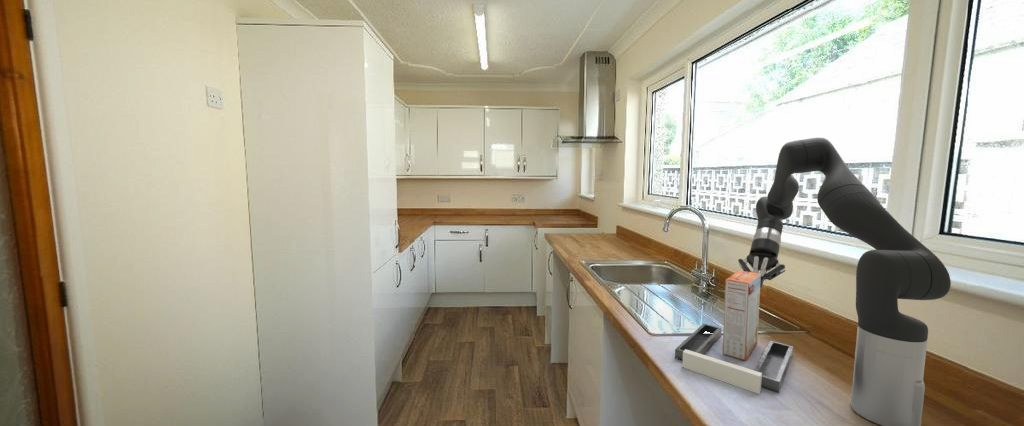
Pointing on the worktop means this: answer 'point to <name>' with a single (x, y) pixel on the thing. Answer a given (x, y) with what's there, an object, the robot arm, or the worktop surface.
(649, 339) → the worktop surface
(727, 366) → the bar
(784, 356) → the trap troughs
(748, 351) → the cracker box
